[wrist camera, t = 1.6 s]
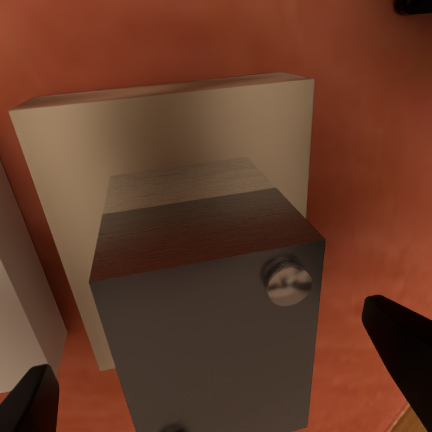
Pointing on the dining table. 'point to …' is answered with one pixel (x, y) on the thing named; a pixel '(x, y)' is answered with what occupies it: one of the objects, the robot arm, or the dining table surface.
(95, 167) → the stand
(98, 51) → the dining table surface
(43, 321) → the stand
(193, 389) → the housing
